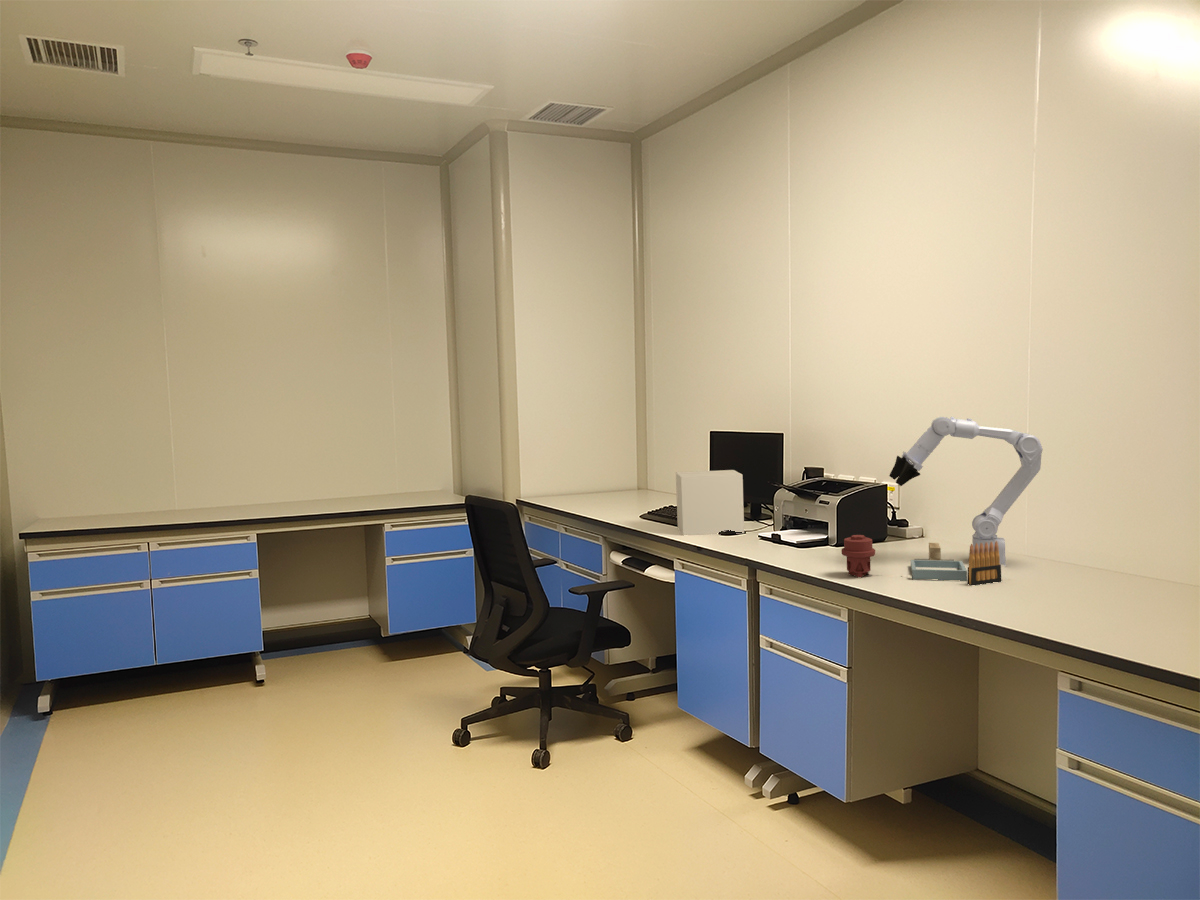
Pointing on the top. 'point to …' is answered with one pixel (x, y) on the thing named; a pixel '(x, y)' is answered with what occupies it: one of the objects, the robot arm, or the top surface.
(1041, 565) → the top surface
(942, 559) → the mounting plate
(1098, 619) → the top surface
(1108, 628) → the top surface
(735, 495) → the cube
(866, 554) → the mechanical component
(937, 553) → the wooden block
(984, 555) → the ammunition clip
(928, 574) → the bin
